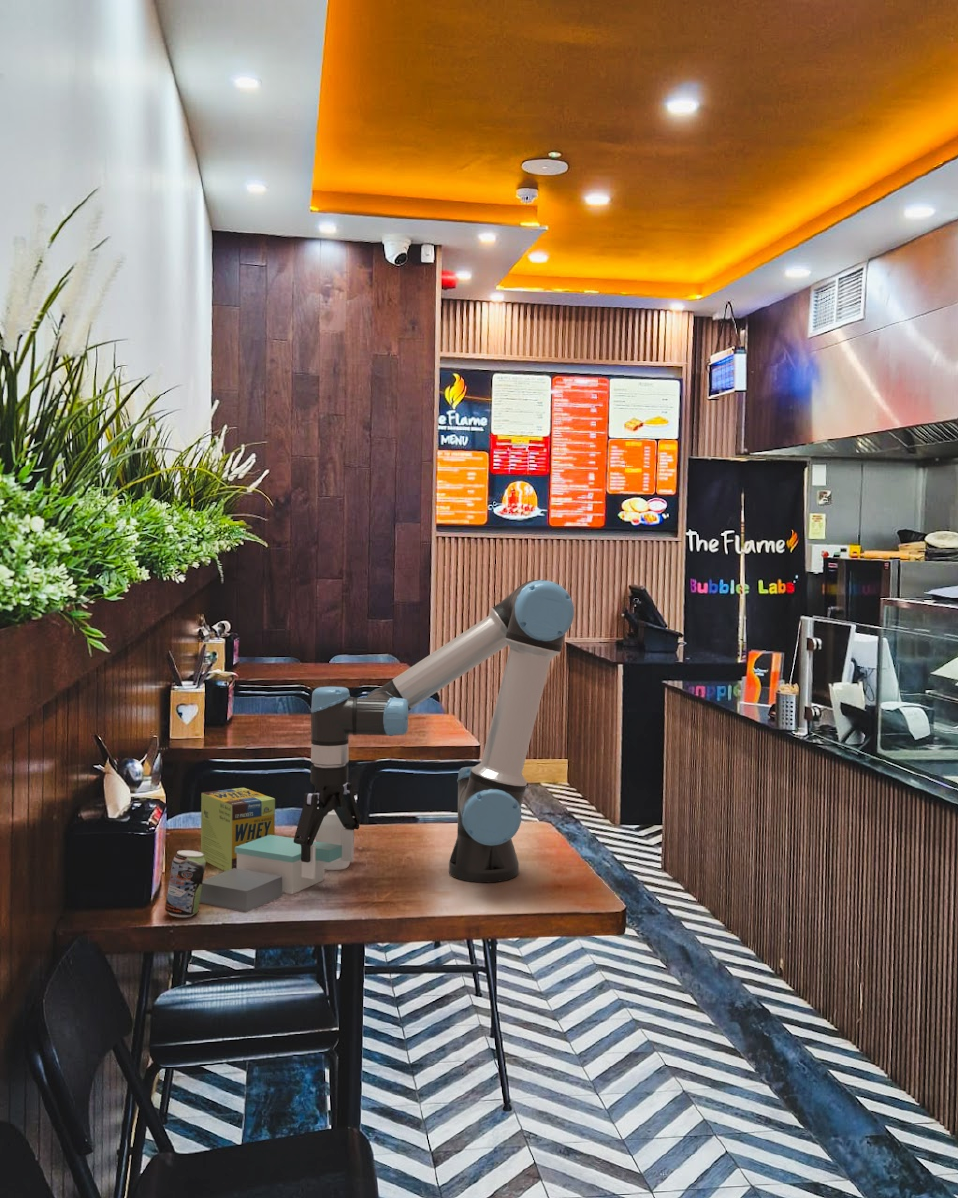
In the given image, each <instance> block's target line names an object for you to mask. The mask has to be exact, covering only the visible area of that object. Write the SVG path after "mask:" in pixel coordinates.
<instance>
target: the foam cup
mask: <svg viewBox="0 0 958 1198" xmlns="http://www.w3.org/2000/svg"><path fill="white" fill-rule="evenodd" d="M317 809H319V808H317ZM353 817H354V816H353ZM354 818H355V817H354ZM341 829H345V828H344V827H343V825H342V823H341V821H340V820H339V818H338V816H337V814H336V812H335V811H334V810H332V811H330V812H328V814H327V815H326V816H325V817H324V818H323V821H322V823H321V825H320V828H319V830H318V832H317V835H316V837H315V841H317V842H323V843H330V844H336V845H341ZM350 863H351V862H348V861H342V860H340V858H339V859H336V860H334V861H332V862H324V870H326V871H338V870H339V871H340V870H344V869H347V868H348V867H349V866H350Z"/></svg>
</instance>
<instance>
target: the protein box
mask: <svg viewBox="0 0 958 1198" xmlns="http://www.w3.org/2000/svg"><path fill="white" fill-rule="evenodd" d="M200 797H201V799H200V800H201V801H200V802H201V804H200V805H201V806H200V809H201V811H200V814H201V815H200V852H201V853H203V854H204V856H203V857H204V859H205V861H206V863H208V864H209V865H212V866H214V867H216V868H218V869H219V870H222V871H223V872H225V871H228V870H230V869H233V868H237V853H235V847H236V846H239V845H242V844H245V843H248V842H251V841H253V840H256V839H259V838H262V837H265V836H267V835H275V834H276V832H275V830H276V829H275V828H276V827H275V824H276V822H275V821H276V816H275V815H276V798H274V797H271V796H268V795H265V794H263V793H260V792H257V791H254V790H251V789H249V788H246V787H238V788H229V789H222V790H213V791H212V790H211V791H203V792H201V796H200Z"/></svg>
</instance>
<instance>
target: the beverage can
mask: <svg viewBox="0 0 958 1198" xmlns="http://www.w3.org/2000/svg"><path fill="white" fill-rule="evenodd" d="M203 856H204V854H203V853H201V851H197V850H191V849H184V850H183V849H181V850H178V851H176V854H175V855H174V857H173V858H172V861H171V868H170V874H169V875H170V876H169V881H168V888H167V895H166V899H165V907H164V910H165V911H166V912H167V913H168V915H170V916H172V917H176V918H191V917H193V916H194V915H196V914H198V912H199V907H200V903H199V901H200V895H201V889H202V882H203V880H204V876H205V868H206V863H207V862H206V861H205V859H204V857H203Z"/></svg>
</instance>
